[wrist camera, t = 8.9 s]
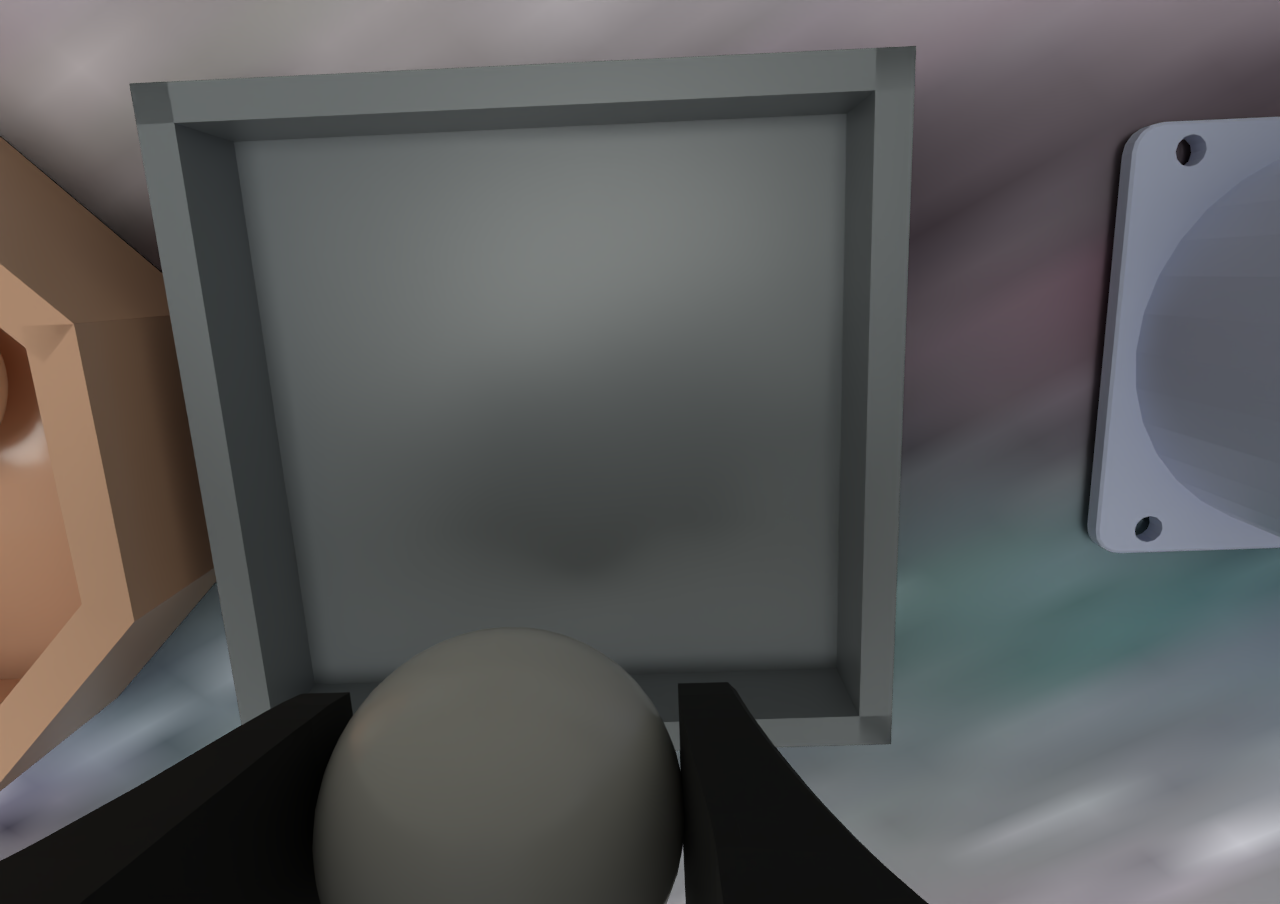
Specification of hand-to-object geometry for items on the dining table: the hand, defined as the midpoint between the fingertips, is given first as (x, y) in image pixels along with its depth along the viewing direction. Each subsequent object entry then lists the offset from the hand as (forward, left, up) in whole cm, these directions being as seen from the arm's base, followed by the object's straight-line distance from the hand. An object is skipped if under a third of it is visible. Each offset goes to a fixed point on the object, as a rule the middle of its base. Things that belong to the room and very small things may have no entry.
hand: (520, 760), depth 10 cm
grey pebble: (0, 0, -1) cm, 1 cm away
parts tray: (0, -3, -7) cm, 7 cm away
